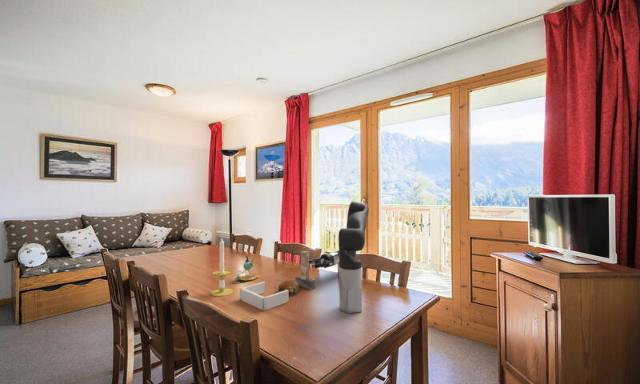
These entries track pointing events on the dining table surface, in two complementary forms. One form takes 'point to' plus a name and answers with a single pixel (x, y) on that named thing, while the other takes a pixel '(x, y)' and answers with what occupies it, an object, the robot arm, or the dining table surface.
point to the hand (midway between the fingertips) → (309, 264)
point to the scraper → (305, 272)
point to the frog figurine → (248, 265)
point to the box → (263, 303)
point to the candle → (221, 275)
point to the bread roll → (289, 286)
